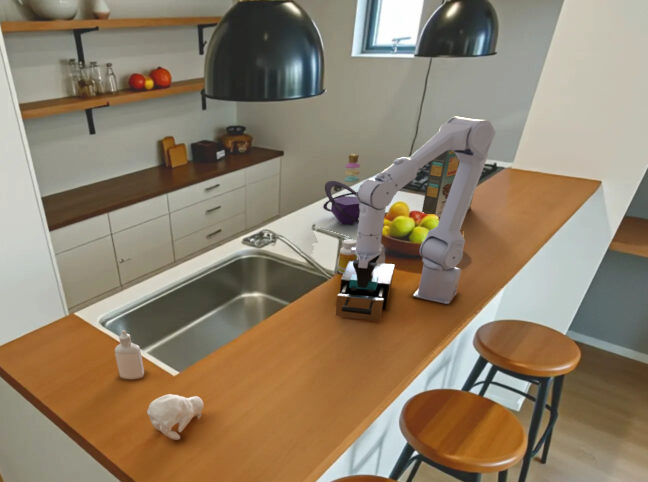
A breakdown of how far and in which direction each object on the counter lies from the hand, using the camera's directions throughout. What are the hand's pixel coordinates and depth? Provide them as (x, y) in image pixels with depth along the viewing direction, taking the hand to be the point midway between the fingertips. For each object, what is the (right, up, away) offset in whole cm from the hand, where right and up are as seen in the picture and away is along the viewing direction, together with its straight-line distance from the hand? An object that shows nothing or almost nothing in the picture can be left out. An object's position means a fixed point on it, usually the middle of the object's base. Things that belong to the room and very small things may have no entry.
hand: (363, 283), depth 123 cm
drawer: (0, -7, +3) cm, 8 cm away
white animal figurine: (-46, -33, -28) cm, 63 cm away
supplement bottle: (+4, +9, +27) cm, 29 cm away
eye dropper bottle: (-58, -24, -12) cm, 64 cm away
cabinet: (+4, -2, +12) cm, 13 cm away
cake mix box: (+55, +40, +67) cm, 96 cm away
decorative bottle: (+15, +36, +66) cm, 76 cm away
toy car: (0, -1, +1) cm, 1 cm away
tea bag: (+10, +7, +24) cm, 27 cm away
